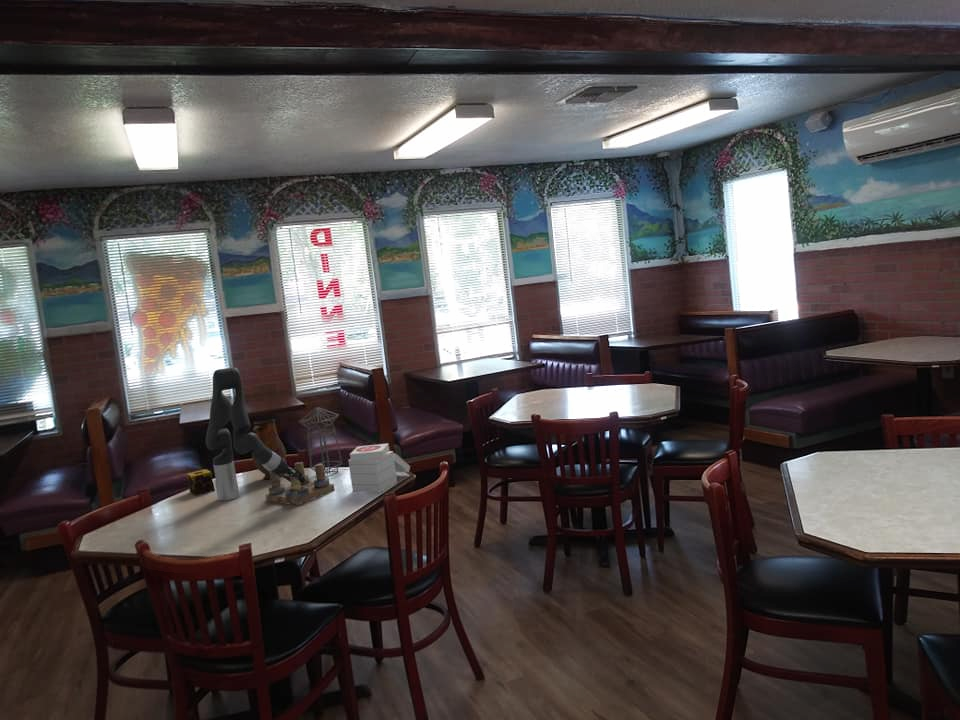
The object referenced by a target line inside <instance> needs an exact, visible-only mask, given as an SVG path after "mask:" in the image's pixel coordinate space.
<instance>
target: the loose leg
mask: <svg viewBox="0 0 960 720" xmlns="http://www.w3.org/2000/svg"><path fill="white" fill-rule="evenodd" d="M291 476H292V474H291ZM290 480H291V482H290V485H291V487H292V491H298V490H301V484H300V481H299V480H297V479H295V478H290Z"/></svg>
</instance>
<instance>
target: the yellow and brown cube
mask: <svg viewBox="0 0 960 720" xmlns="http://www.w3.org/2000/svg"><path fill="white" fill-rule="evenodd" d="M186 476H187V482H188V489H189V493H190V494H191V495H193V496H195V497H196V496H199V495H202V494H203V495H204V494H206V493H211V492H210V491H212V492H215V491H214V490H216V489H215V485H214V482H213V474H212V471H210V470H208V469H207V468H205V469H201V470H197V471H193V472H189V473H186Z"/></svg>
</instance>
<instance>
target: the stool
mask: <svg viewBox="0 0 960 720" xmlns="http://www.w3.org/2000/svg"><path fill="white" fill-rule="evenodd" d="M324 465H325V464H324ZM324 465H323V463H322V464H319V463H317V464H314V466H315V467H314V469H315V471H314V472H315V477H316V479H313V481H310V478H309V475H306V473H305V467H304V462H303V461H300V462H296V463H294V468H295V469H296V470H297V471H299V472H300V473H302V477H304V478H305V482H304V483H301V482H300V484H301V490H298V491H292V487H291V484H290V485H287V486H285V484H282V483H281V478H280V477H279V476H278V475H274V474H273V473H272V472H270V479H271V480H270V485H271V486H269V487H268V493H267V494H265V501H266V500H267V501H266V502H270V501H274V502H273V503H277V502H281V503H280V504H284V503H289V504H288V505H291V504H296V505H295V506H299V505H298V504H300V503H302V504H304V503H303V502H305V501H307V500H310V499H312V500H314V499H313V498H315V497H317V498H319V497H318V496H320V497H322V496H324V495H323V494H325V495H327V494H329V492H330V493H331V491H332V492H333V491H335V484H334V483H330V478H329V477H327V476H326V473H325V471H324ZM326 493H327V494H326ZM321 495H322V496H321ZM315 499H316V498H315ZM310 501H311V500H310ZM307 502H308V501H307ZM305 503H306V502H305ZM300 505H301V504H300Z"/></svg>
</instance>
